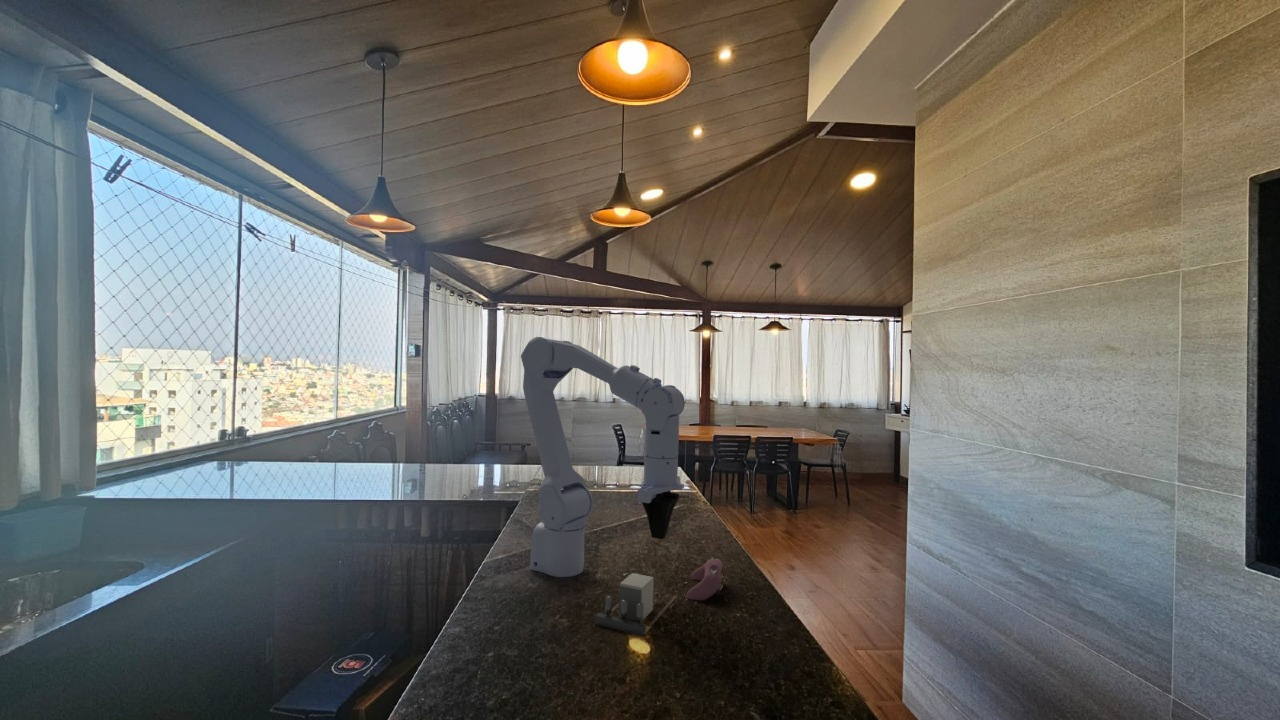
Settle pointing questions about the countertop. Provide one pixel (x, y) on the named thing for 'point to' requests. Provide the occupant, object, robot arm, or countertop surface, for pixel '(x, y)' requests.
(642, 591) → the plug block
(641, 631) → the header
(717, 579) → the video game controller
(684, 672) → the countertop surface
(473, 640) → the countertop surface
